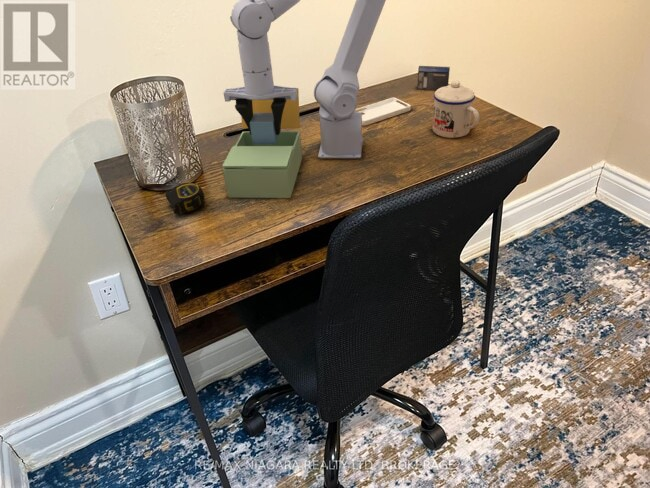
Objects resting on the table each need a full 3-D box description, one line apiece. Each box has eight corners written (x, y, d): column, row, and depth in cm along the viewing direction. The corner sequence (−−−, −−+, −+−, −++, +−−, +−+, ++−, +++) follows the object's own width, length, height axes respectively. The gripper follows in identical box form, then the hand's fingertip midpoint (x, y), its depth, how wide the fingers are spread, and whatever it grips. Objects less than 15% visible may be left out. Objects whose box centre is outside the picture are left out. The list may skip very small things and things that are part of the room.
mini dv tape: (417, 89, 143) (418, 67, 139) (417, 87, 144) (419, 65, 141) (447, 90, 141) (449, 68, 138) (447, 88, 142) (449, 66, 139)
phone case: (363, 126, 126) (411, 110, 132) (363, 121, 126) (412, 105, 131) (347, 116, 132) (393, 101, 137) (347, 111, 131) (393, 96, 137)
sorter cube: (275, 144, 107) (272, 122, 104) (252, 144, 107) (249, 122, 104) (279, 133, 110) (277, 112, 107) (257, 133, 111) (254, 112, 108)
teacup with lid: (423, 129, 123) (426, 81, 116) (450, 118, 127) (454, 71, 120) (461, 147, 115) (466, 97, 108) (488, 135, 119) (496, 85, 112)
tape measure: (167, 203, 104) (162, 187, 101) (200, 193, 106) (196, 177, 104) (176, 220, 99) (171, 203, 97) (210, 209, 101) (206, 192, 99)
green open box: (246, 157, 117) (241, 127, 113) (302, 157, 116) (299, 127, 111) (228, 197, 104) (221, 166, 100) (290, 198, 103) (286, 166, 98)
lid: (242, 128, 113) (242, 128, 113) (299, 128, 111) (299, 128, 112) (239, 89, 110) (240, 89, 111) (298, 88, 109) (298, 88, 109)
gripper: (297, 60, 102) (302, 124, 110) (225, 61, 104) (236, 124, 112) (291, 72, 96) (297, 139, 105) (216, 74, 98) (228, 139, 106)
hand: (265, 132), depth 108 cm, fingers closed on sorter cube, 5 cm apart
